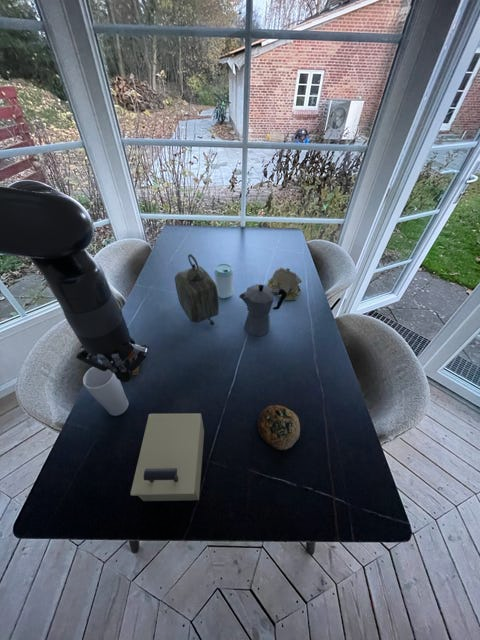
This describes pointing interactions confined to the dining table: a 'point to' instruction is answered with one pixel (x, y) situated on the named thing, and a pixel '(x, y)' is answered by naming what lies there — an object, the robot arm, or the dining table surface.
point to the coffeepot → (260, 307)
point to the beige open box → (197, 483)
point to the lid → (168, 455)
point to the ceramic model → (286, 283)
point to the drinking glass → (106, 390)
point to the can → (223, 280)
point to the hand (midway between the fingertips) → (126, 378)
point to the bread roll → (279, 427)
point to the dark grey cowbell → (197, 293)
